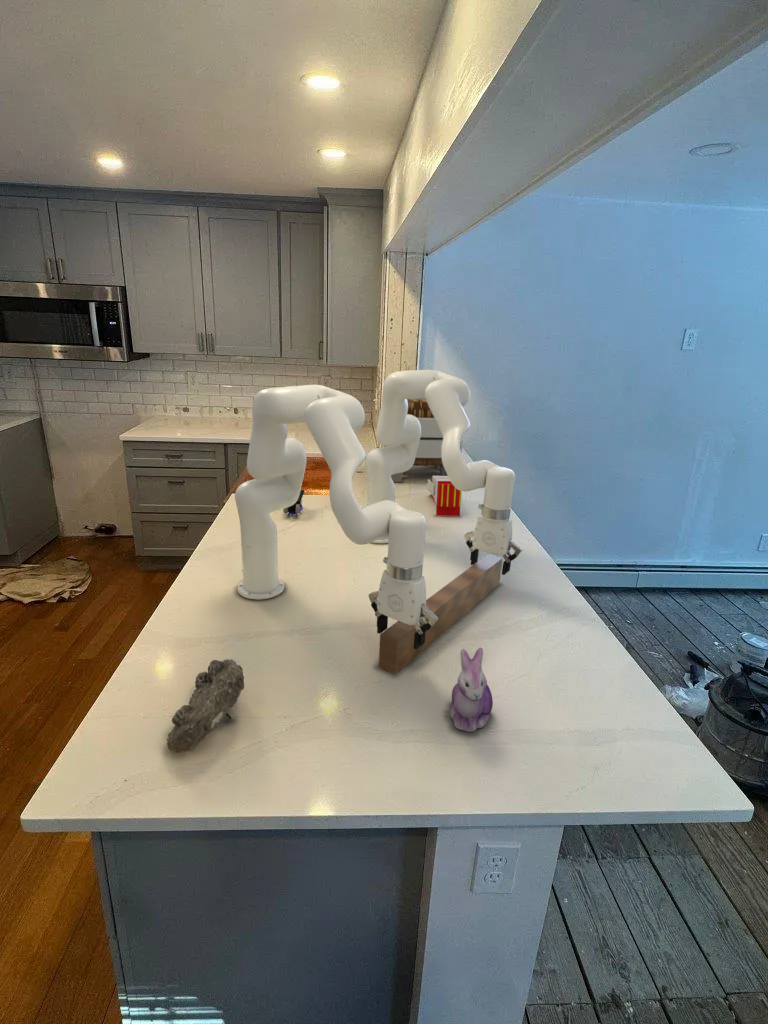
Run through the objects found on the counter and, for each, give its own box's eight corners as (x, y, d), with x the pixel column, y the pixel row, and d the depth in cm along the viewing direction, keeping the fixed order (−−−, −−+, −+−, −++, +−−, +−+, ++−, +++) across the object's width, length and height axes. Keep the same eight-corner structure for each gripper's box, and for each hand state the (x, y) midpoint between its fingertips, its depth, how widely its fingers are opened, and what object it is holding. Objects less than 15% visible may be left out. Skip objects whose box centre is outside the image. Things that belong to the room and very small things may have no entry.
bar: (485, 579, 169) (488, 553, 166) (499, 584, 166) (502, 557, 163) (378, 667, 125) (380, 634, 123) (395, 674, 123) (397, 641, 120)
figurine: (465, 741, 105) (473, 672, 100) (436, 707, 113) (441, 643, 108) (506, 726, 109) (515, 660, 104) (474, 695, 117) (481, 632, 112)
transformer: (382, 463, 289) (386, 382, 275) (445, 464, 293) (451, 384, 279) (390, 482, 257) (394, 392, 243) (460, 483, 261) (468, 394, 247)
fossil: (192, 660, 117) (244, 628, 112) (224, 691, 120) (276, 661, 115) (142, 746, 98) (202, 712, 93) (182, 779, 101) (242, 748, 96)
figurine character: (300, 523, 209) (305, 505, 222) (300, 504, 206) (305, 487, 219) (282, 522, 209) (288, 504, 222) (281, 504, 205) (287, 487, 219)
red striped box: (454, 471, 244) (466, 482, 214) (452, 502, 246) (464, 517, 217) (426, 471, 243) (434, 481, 214) (424, 501, 246) (432, 516, 217)
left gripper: (361, 563, 121) (358, 632, 127) (431, 587, 112) (424, 660, 118) (381, 552, 127) (377, 618, 133) (449, 574, 118) (442, 645, 124)
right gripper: (461, 508, 158) (456, 564, 163) (520, 523, 149) (512, 582, 154) (473, 501, 163) (468, 555, 169) (531, 516, 154) (522, 572, 160)
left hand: (399, 638), depth 125 cm, fingers open, 9 cm apart
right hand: (489, 568), depth 162 cm, fingers open, 9 cm apart
